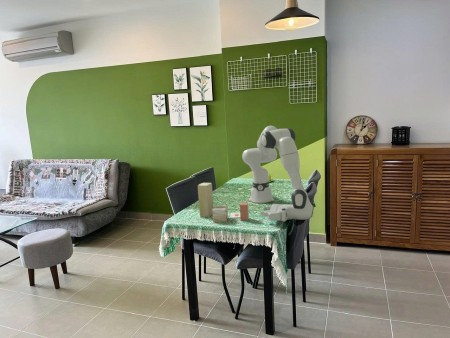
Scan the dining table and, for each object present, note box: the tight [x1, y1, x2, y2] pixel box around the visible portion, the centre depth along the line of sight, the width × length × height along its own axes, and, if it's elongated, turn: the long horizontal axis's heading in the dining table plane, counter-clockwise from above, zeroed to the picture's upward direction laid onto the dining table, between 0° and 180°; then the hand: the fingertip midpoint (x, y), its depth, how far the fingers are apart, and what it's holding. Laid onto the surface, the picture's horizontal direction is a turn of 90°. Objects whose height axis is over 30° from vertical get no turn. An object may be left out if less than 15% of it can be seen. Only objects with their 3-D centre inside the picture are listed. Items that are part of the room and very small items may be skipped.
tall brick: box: [239, 202, 249, 222], centre depth 209 cm, size 4×4×10 cm
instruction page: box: [229, 211, 240, 219], centre depth 219 cm, size 10×8×1 cm
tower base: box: [212, 205, 229, 223], centre depth 211 cm, size 8×8×8 cm
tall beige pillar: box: [197, 182, 214, 218], centre depth 220 cm, size 8×7×21 cm
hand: (262, 211), depth 206 cm, fingers open, 8 cm apart
